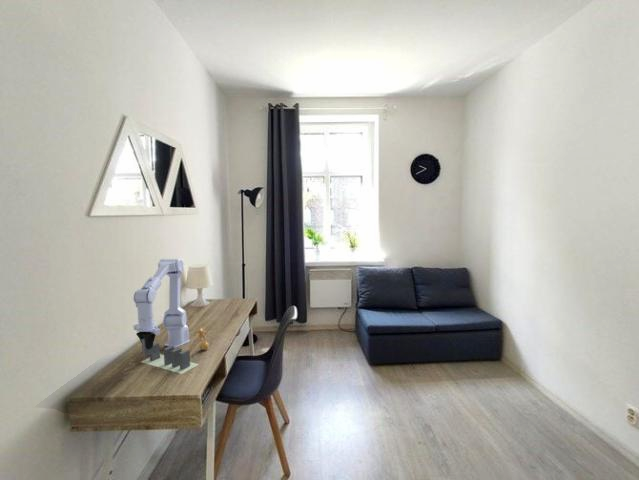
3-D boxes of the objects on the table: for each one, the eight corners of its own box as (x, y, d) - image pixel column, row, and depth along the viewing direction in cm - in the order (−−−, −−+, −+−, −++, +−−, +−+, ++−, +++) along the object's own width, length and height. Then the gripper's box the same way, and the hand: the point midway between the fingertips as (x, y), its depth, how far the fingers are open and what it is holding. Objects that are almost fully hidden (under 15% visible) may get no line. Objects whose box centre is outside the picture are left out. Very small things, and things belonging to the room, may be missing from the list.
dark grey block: (172, 366, 133) (171, 351, 133) (179, 362, 137) (178, 347, 136) (174, 367, 133) (174, 351, 132) (182, 363, 136) (181, 348, 135)
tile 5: (179, 369, 131) (179, 353, 131) (187, 365, 135) (186, 349, 134) (182, 369, 130) (182, 353, 130) (190, 365, 134) (189, 350, 133)
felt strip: (158, 354, 146) (158, 353, 146) (198, 364, 135) (198, 364, 135) (140, 362, 138) (140, 361, 138) (181, 374, 127) (181, 373, 127)
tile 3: (164, 364, 135) (163, 349, 135) (171, 360, 139) (171, 345, 138) (167, 365, 135) (166, 349, 134) (174, 361, 138) (173, 346, 137)
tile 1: (149, 360, 140) (149, 345, 139) (157, 357, 143) (156, 342, 142) (152, 361, 139) (151, 346, 138) (160, 357, 142) (159, 342, 142)
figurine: (214, 348, 152) (213, 324, 151) (208, 353, 146) (207, 329, 145) (198, 347, 153) (197, 324, 152) (192, 353, 147) (190, 328, 146)
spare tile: (142, 355, 131) (141, 339, 131) (150, 351, 135) (149, 335, 134) (145, 355, 130) (144, 339, 130) (153, 352, 134) (152, 336, 133)
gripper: (125, 317, 131) (127, 348, 132) (148, 322, 125) (150, 354, 126) (141, 312, 137) (143, 342, 138) (163, 317, 131) (165, 348, 132)
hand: (147, 348), depth 132 cm, fingers closed on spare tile, 2 cm apart
